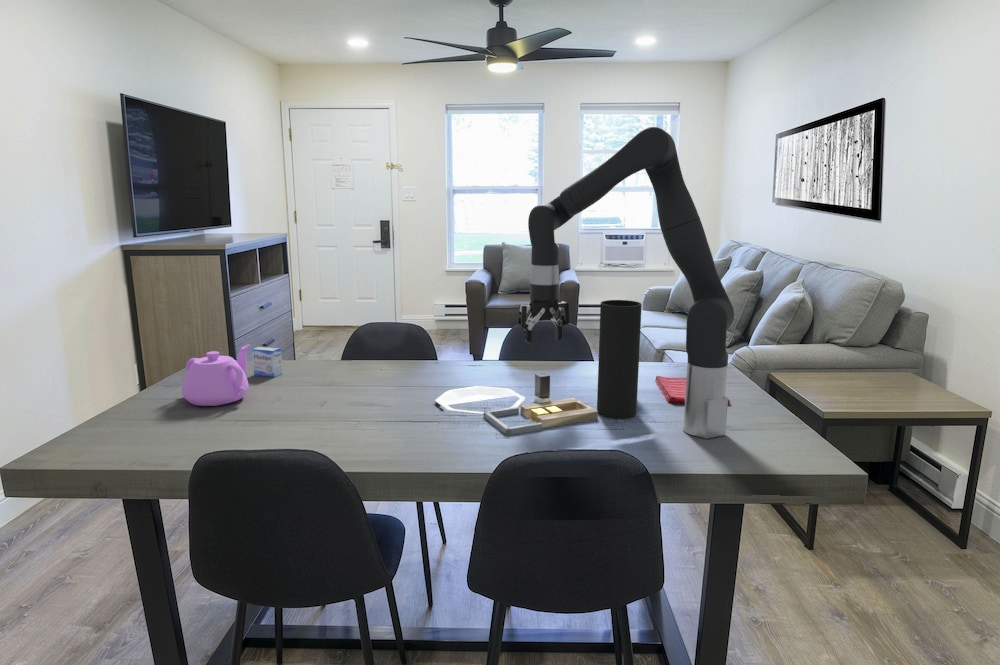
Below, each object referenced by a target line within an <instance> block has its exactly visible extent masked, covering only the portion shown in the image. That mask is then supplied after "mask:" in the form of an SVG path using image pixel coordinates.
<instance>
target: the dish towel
mask: <svg viewBox="0 0 1000 665" xmlns="http://www.w3.org/2000/svg"><path fill="white" fill-rule="evenodd" d="M686 378H687V377H666V376H661V375H656V377H655V379H654V380H655V381H654V382H655V383H656V386H657V387H658V389H659V391H660V392H661V394H662V395H663V397H664V399H665V400H666V401H667V402H668V404H672V405H673V404H674V405H675V404H676V405H677V404H678V405H680V404H681V405H685V393H686ZM730 404H731V401H730V398H728V406H729V405H730Z"/></svg>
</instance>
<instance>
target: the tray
mask: <svg viewBox="0 0 1000 665" xmlns="http://www.w3.org/2000/svg"><path fill="white" fill-rule="evenodd" d="M483 412H484V414H483V418H484V419H485V420H487V421H488V422H489V423H490V424H492V425H493V426H494V427H496V428H497V429H498V430H499V431H501V432H502V433H503V434H504V435H506V436H510V435H511V436H512V435H517V434H518V435H519V434H522V433H523V434H524V433H528V432H529V433H530V432H536V431H541V430H543V428H542V423H534V422H533V423H529V424H528V423H527V424H523V425H516V426H508V425H507V424H505V423H504V422H502V421H501V420H500V419H498V418H497V417H504V416H511V415H516V414H519V413H520V409H519V407H513V408H510V407H507V408H506V409H505V408H500V410H499V409H494V410H487V411H483Z"/></svg>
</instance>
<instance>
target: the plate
mask: <svg viewBox="0 0 1000 665" xmlns="http://www.w3.org/2000/svg"><path fill="white" fill-rule="evenodd" d="M509 397H517V398H518V400H517V401H516V402H514V404H513V405H512V406H510V407H509V408H513V407H518V408H519V407H521V405H522V403H524V401H525V400H526V397H525V396H523V395H522V394H519V393H517V391H514V390H512V389H511V388H505V387H493V386H486V385H485V386H483V385H476V386H474V385H473V386H468V387H467V386H466V387H461V388H454V389H449V390H446V391H445V392H444V393H442V394H441V395H439V396H438V397H437V398H435V399H434V400H435V403H436V404H438V405H439V406H440V407H442V408H443V409H445V410H447V411H448V412H458V413H465V414H466V413H467V414H475V415H484V412H485V411H477V410H468V409H457V408H452V407H451V405H457V404H465V403H471V402H481V401H485V400H493V399H494V400H495V399H500V398H501V399H502V398H509ZM500 409H501V408H500ZM500 409H498V410H500ZM504 409H506V408H504Z"/></svg>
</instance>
